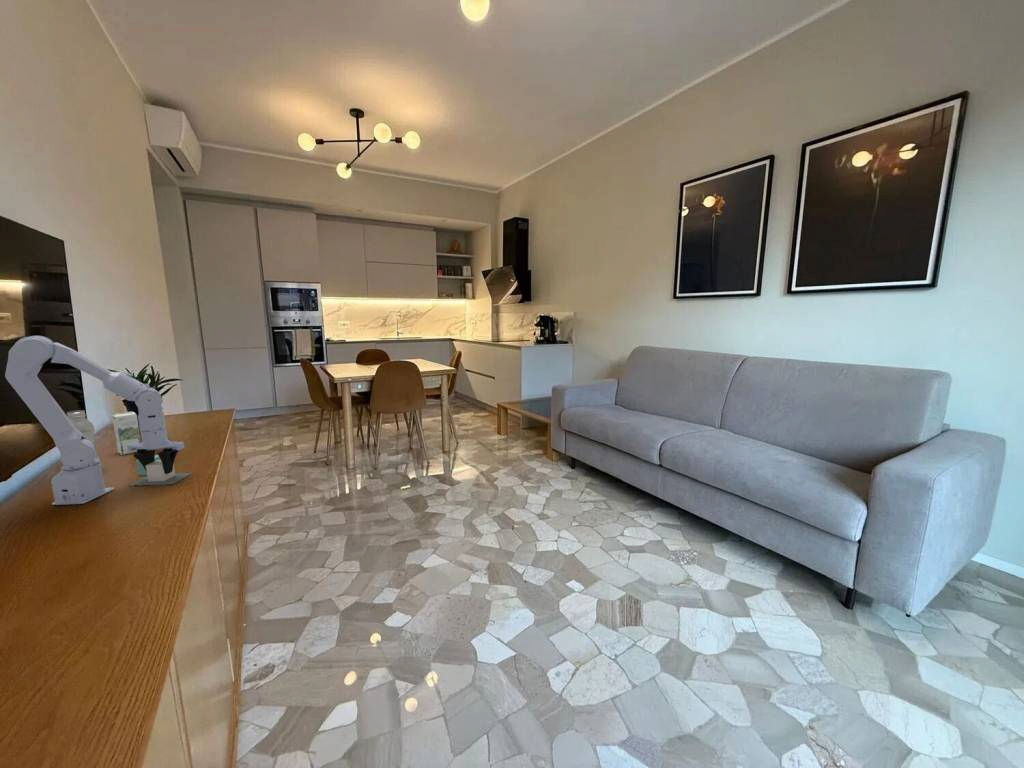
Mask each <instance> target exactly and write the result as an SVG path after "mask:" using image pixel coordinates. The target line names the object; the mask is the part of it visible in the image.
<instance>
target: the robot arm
mask: <svg viewBox="0 0 1024 768" xmlns="http://www.w3.org/2000/svg"><path fill="white" fill-rule="evenodd" d="M50 359H51V361H50V363H55V364H64V365H65V364H66V365H70V366H71V367H73V368H75V369H77V370H79V371H81V372H84V373H85V374H87V375H90V376H91V377H94V378H96V379H98V380H100V381H101V382H102V384H103V388H104V389H106V390H108V391H109V392H112V393H113V394H115V395H117V396H119V397H121V398H123V399H125V400H127V401H130V402H134V403H135V405H136V407H137V410H138V414H137V421H138V427H139V433H140V439H141V443H132V444H129V445H127V448H128V452H131V451H137V452H136V453H133V457H134V458H135V460H139V462H140V463H141V464H142V465H143V467H144V469H145V470H146V465H148V464H150V463H152V462H155V461H154V458H155V455H156V451H160V452H158V453H157V455H158V456H159V457H160V459H161V461H162V464H163V469H164V472H165V474H169V473H171V472H172V470H173V464H174V463H175V460H176V456H177V454H178V453H179V451H181V450H182V449H185V443H184V441H175V440H169V438H168V433H167V426H166V420H165V414H164V411H163V405H162V404H163V401H164V399H163V397H162V395H161V393H160V392H159V391H158V390H157V389H155V388H154V387H150V384H148V383H143V382H141V381H140V380H138V379H135V378H134V377H132V376H133V375H132V374H131V373H130V372H126V373H125V372H123V371H110V370H109V369H107V368H105V367H103V366H102V365H101V364H99V363H97V362H96V361H93V360H92V359H90V358H88V357H87V356H85V355H84V354H82V353H80V352H78V351H77V350H75V349H73V348H71V347H68V346H66V345H64V344H61V343H60V342H54V341H53V340H52V339H50V338H49V337H46V336H42V335H30V336H25V337H23V338H20V339H19V340H16V342H15V343H14V345H13V346H11V348H10V349H9V351H8V358H7V364H6V369H5V374H4V377H5V379H6V380H7V382H8V383H9V385H11V387H12V389H14V390H15V392H16V393H17V395H18V396H19V397H20V399H21V400H22V401H23V402H24V403H25V404H26V406H27V407H28V409H29V410H30V412H31V413H32V414H33V415H34V417H36V419H37V420H38V421H39V423H40V424H41V425H42V427H43V428H44V429H45V430H46V432H47V433H48V434H49V436H50V437H51V439H52V440H53V442H54V445H55V447H56V448H57V450H58V451H59V453H60V455H59V456H60V461H61V463H62V465H61V469H60V471H59V472H58V473H57V474H55V475H54V476H52V477H51V478H52V479H51V482H50V484H51V489H52V490H51V491H52V494H53V499H54V501H53V502H51V505H52V506H54V505H56V506H58V505H59V506H60V505H81V504H86V503H88V502H90V501H92V500H94V499H96V498H99V497H101V496H103V495H105V494H107V493H110V492H111V491H114V490H115V487H106V486H105V481H104V476H103V470H102V465H101V464H100V462H101V460H100V458H99V459H97V458H95V451H96V452H97V445H96V442H95V441H94V442H93V441H92V440H90V439H88V438H86V437H84V436H83V435H82V433H81V432H80V431H79V430H78V429H76V428H75V426H74V425H73V424H72V422H71V421H70V420H69V418H68V415H67V413H66V412H65V411H64V410H63V409H62V407H61V406H60V405H59V404H58V402H57V401H56V399H55V398H54V397H53V396H52V395H51V393H50V391H49V390H48V389H47V387H46V386H45V385H44V383H43V382H42V381H41V380H40V378H39V377H38V374H39V372H40V371H41V369H42V367H43V366H44V365H43V364H45V363H46V362H47V361H49V360H50ZM174 465H175V464H174ZM146 472H147V471H146Z"/></svg>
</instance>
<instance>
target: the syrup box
mask: <svg viewBox="0 0 1024 768" xmlns="http://www.w3.org/2000/svg"><path fill="white" fill-rule="evenodd" d="M111 421H112V425H113V432H114V438H115V445H116V451H117V453H118V454H119V453H120V455H121V456H125V454H126V455H130V454H129V453H131V454H135V453H134V452H136V453H137V451H131V452H128V448H127V445H129V444H132V443H142V440H141V433H140V427H139V420H138V414H137V413H136V412H134V411H125V412H119V413H113V414H111Z"/></svg>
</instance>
